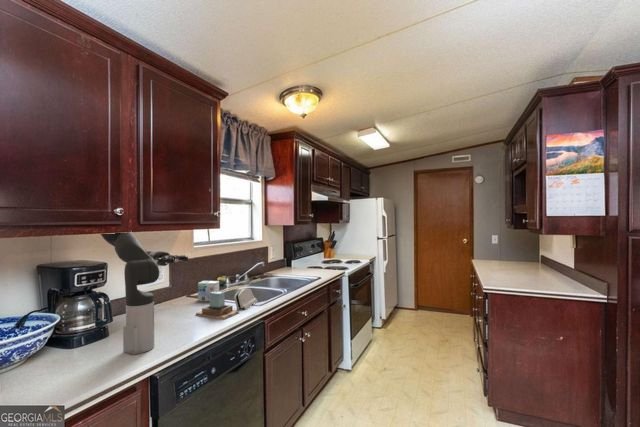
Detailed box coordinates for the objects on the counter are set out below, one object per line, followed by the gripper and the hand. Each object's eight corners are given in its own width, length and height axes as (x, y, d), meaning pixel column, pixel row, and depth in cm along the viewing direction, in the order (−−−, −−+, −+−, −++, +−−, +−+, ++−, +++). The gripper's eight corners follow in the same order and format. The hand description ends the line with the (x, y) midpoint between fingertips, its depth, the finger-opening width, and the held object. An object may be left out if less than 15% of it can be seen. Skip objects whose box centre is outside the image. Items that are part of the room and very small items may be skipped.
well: (223, 319, 149) (223, 312, 149) (195, 315, 156) (195, 308, 156) (238, 312, 159) (238, 306, 159) (211, 309, 166) (211, 302, 166)
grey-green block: (219, 313, 154) (218, 293, 154) (209, 312, 157) (209, 292, 157) (224, 311, 158) (224, 292, 158) (215, 310, 160) (215, 291, 160)
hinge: (245, 309, 164) (239, 291, 165) (237, 312, 165) (231, 294, 165) (257, 301, 180) (252, 285, 181) (250, 303, 181) (245, 287, 182)
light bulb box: (197, 301, 183) (197, 282, 183) (203, 298, 190) (203, 280, 190) (214, 301, 182) (214, 283, 182) (219, 298, 188) (219, 280, 188)
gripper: (146, 252, 158) (168, 254, 151) (170, 250, 171) (191, 251, 164) (146, 267, 158) (168, 269, 151) (170, 263, 170) (191, 265, 164)
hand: (180, 259), depth 157 cm, fingers open, 8 cm apart
